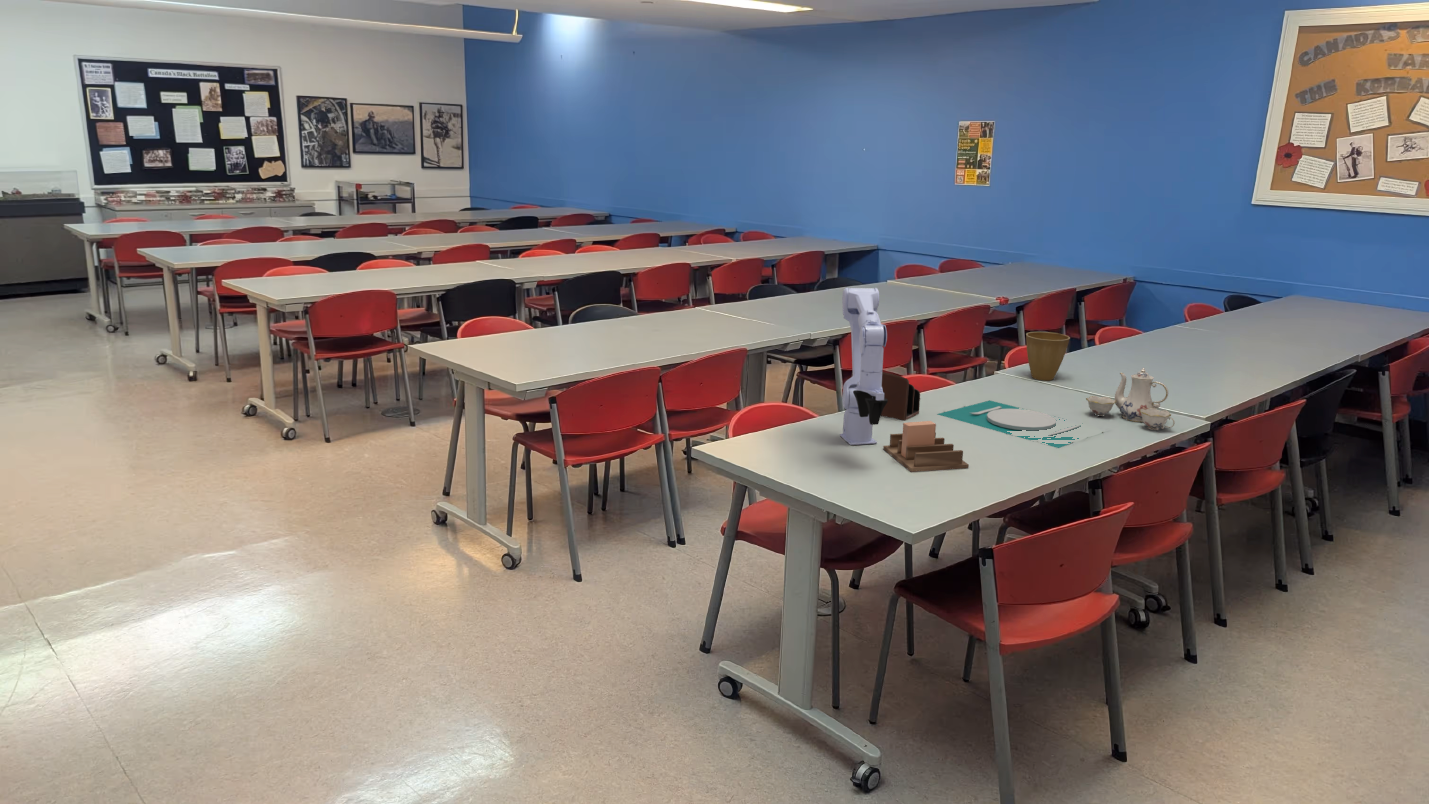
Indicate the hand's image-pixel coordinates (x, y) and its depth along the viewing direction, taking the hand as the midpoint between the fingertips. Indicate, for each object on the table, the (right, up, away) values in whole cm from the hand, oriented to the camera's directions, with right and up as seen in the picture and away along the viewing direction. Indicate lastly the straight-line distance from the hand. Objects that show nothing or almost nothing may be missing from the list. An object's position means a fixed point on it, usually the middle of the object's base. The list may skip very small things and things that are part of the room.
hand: (868, 420), depth 244 cm
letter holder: (+13, +1, +47) cm, 48 cm away
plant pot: (+79, +13, +91) cm, 121 cm away
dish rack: (+15, -10, +2) cm, 19 cm away
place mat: (+53, -2, +37) cm, 64 cm away
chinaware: (+88, -1, +40) cm, 97 cm away
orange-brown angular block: (+13, -9, +2) cm, 16 cm away
